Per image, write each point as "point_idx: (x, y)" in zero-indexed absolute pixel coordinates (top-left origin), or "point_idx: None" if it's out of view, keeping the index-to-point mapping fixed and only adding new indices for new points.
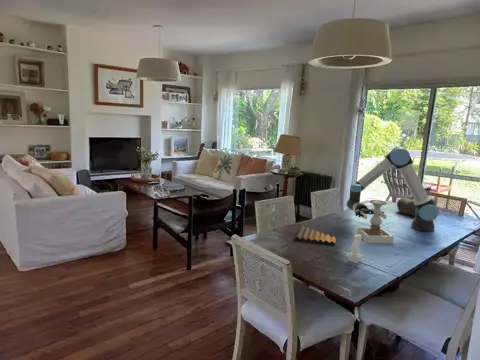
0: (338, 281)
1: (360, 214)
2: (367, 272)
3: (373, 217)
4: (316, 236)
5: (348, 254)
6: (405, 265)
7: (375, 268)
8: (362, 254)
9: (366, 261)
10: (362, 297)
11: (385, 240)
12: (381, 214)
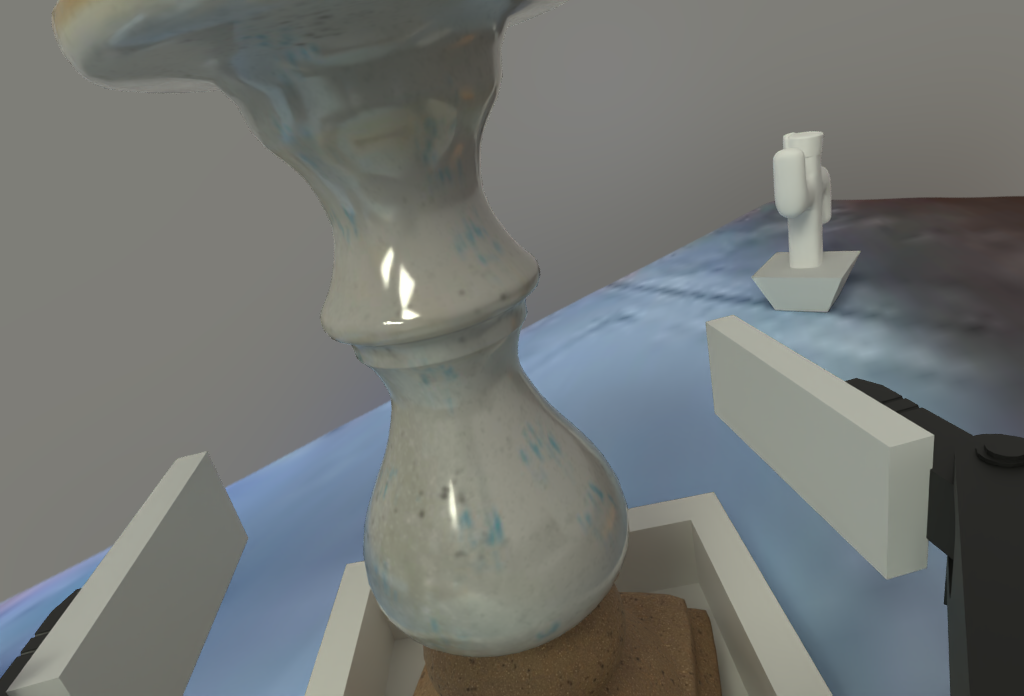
0: (844, 218)
1: (929, 423)
2: (733, 268)
3: (551, 405)
4: None
5: (849, 256)
6: (525, 343)
7: (692, 292)
8: (761, 277)
9: None
10: (752, 210)
11: None
12: (141, 627)
